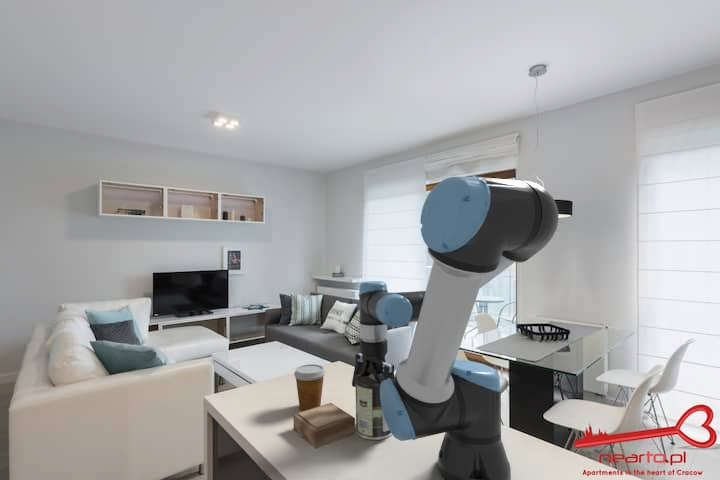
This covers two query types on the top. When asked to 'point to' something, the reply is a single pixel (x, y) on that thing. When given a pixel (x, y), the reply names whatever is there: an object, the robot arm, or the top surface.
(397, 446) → the top surface
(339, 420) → the stand
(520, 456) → the top surface
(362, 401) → the coffee can
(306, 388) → the disposable coffee cup
